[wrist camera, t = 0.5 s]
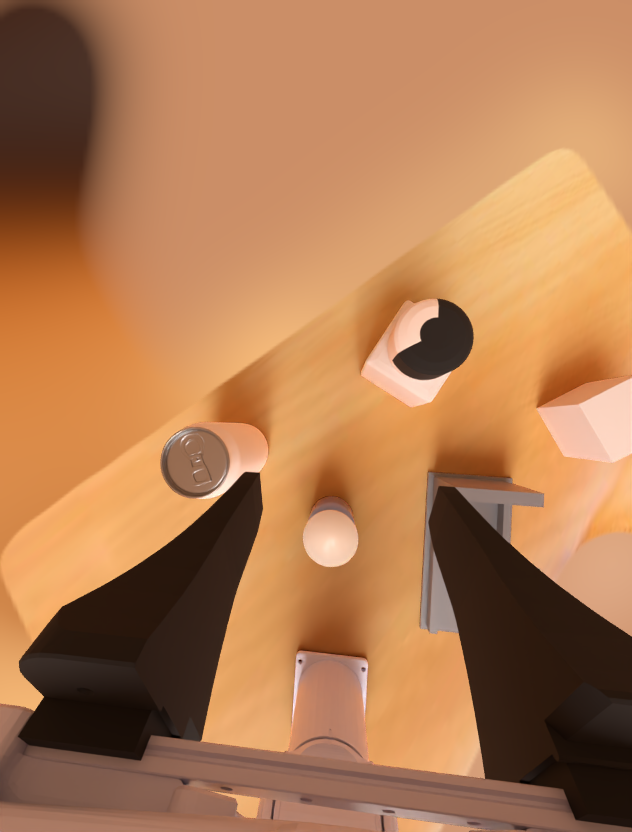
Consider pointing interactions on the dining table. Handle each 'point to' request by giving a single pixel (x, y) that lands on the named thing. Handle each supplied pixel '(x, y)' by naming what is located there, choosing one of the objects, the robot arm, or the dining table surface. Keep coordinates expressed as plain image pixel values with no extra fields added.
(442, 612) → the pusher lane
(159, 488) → the dining table surface
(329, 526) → the jar
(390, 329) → the medicine bottle
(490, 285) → the dining table surface
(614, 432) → the pale pink cube
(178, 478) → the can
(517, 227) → the dining table surface
